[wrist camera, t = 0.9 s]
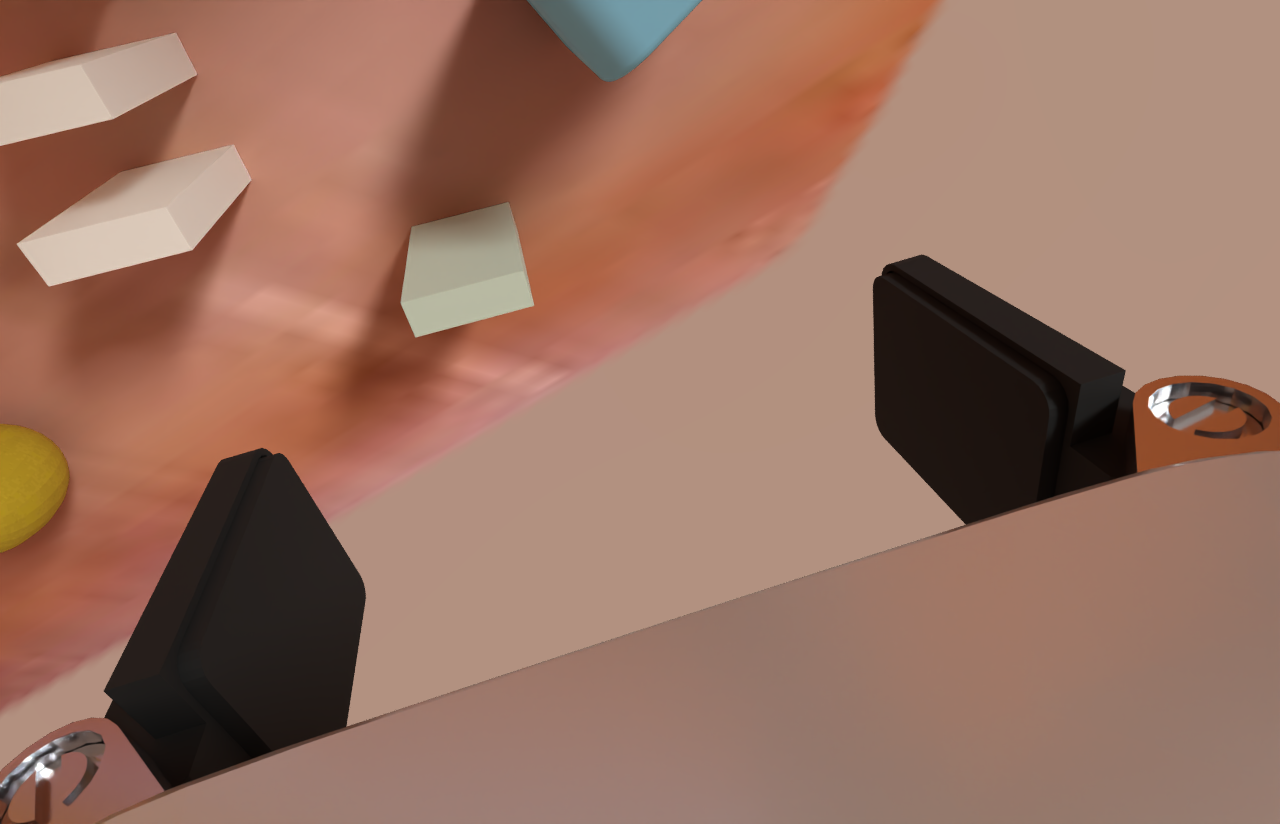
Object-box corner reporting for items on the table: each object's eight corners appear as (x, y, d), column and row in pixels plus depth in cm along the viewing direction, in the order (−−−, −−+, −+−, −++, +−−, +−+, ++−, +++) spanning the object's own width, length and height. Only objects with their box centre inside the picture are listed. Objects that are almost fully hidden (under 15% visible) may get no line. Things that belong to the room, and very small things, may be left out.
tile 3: (51, 61, 28) (-90, 103, 21) (175, 32, 28) (80, 64, 21) (77, 102, 29) (-49, 157, 22) (197, 74, 29) (113, 119, 22)
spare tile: (411, 226, 35) (400, 303, 27) (508, 201, 35) (523, 270, 28) (423, 256, 36) (415, 337, 28) (517, 231, 36) (534, 305, 29)
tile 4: (120, 171, 31) (16, 244, 23) (233, 144, 31) (166, 206, 24) (141, 206, 32) (48, 286, 24) (251, 179, 32) (192, 250, 25)
